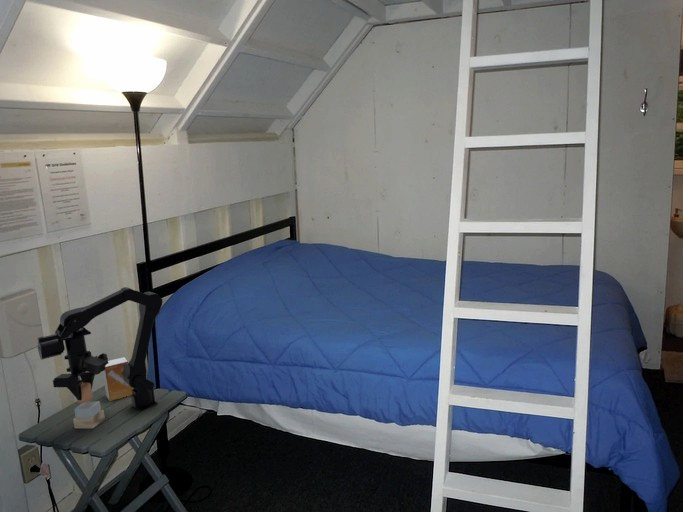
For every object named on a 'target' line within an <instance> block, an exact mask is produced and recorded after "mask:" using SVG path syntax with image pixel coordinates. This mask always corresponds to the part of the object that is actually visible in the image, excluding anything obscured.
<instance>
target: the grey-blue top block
mask: <svg viewBox="0 0 683 512" xmlns="http://www.w3.org/2000/svg"><path fill="white" fill-rule="evenodd" d="M101 406H102V405H101V402H100V401H99V400H97V401H96V400H95V401H89V402H85V403H80V404H79V405H78V406H77V407H75V408H74V409H73V410H74V415H75V416H74V417H76V418H92V417H94V416H95V415H96V414H97V413H98V412H99V411H100V410H102V408H101Z"/></svg>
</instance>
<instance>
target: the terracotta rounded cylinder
mask: <svg viewBox="0 0 683 512" xmlns="http://www.w3.org/2000/svg"><path fill="white" fill-rule="evenodd" d="M81 393H82V400H77V399H76V400H77V401H76V402H77V403H78V404H82V403H85V402H92V401H93V399H94V397H93V391H92V390H91V384H90V383H88V382H87V383H83V382H82V384H81Z"/></svg>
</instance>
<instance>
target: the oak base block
mask: <svg viewBox="0 0 683 512" xmlns="http://www.w3.org/2000/svg"><path fill="white" fill-rule="evenodd" d="M105 419H106V417H105V411H104V409H101V410H100V411H99V412H98V413H97V414H96V415H95V416H94V417H92V418H76V416H74V418H72V420H73V427H74V429H94V428H95V427H97V426H98V425H99V424H100V423H102V422H103V421H104V420H105Z"/></svg>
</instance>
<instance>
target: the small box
mask: <svg viewBox="0 0 683 512" xmlns="http://www.w3.org/2000/svg"><path fill="white" fill-rule="evenodd" d="M124 363H129V361H128V360H127V358H125V356H124V357H119V358H115V359H111V360H108V364H107V365H106V366H105V370H104V371H102V376H103V383H104V389H105V396H106V398H107V399H108V401H109V402H113V401H116V400H119V399H123V397H124V398H126V396H127V397H131V396H130V395H132V390H133V388H132V387H131V386H129V385H128V384H127V383H126V382H125V381H124V379H123V375H122V374H121V373H122V372H123V369H124Z"/></svg>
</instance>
